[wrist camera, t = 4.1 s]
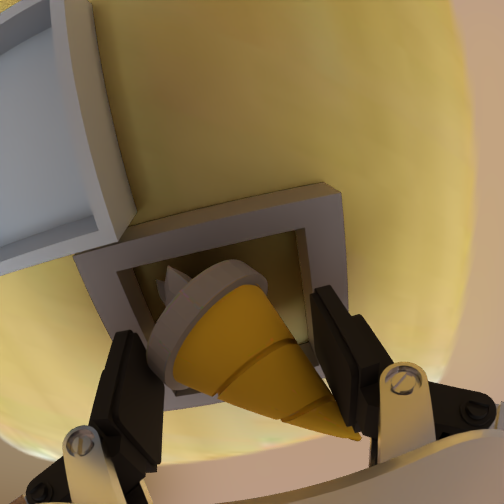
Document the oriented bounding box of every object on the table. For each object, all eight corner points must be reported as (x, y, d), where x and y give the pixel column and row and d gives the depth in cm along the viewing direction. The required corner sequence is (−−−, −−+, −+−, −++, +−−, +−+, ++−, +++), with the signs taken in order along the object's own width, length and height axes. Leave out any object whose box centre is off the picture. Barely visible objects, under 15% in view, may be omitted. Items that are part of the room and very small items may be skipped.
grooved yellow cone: (194, 196, 12) (433, 351, 8) (207, 277, 16) (374, 398, 12) (79, 281, 9) (331, 511, 5) (127, 346, 14) (299, 497, 9)
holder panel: (87, 238, 12) (72, 256, 10) (323, 181, 13) (341, 192, 11) (157, 387, 16) (155, 412, 14) (336, 347, 16) (348, 370, 15)
